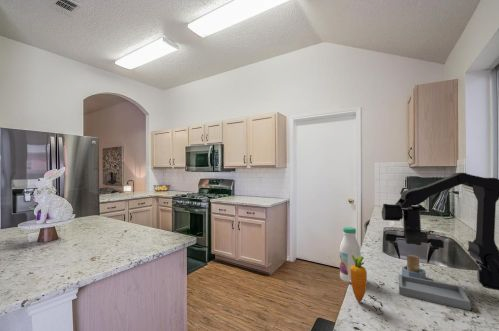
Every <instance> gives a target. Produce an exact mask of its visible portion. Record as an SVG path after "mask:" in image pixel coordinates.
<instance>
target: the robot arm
mask: <svg viewBox="0 0 499 331" xmlns="http://www.w3.org/2000/svg"><path fill="white" fill-rule="evenodd" d="M460 185H464V186H466V187H470V188H472V191H473V195H474V197H475V198H476V200H477V206H476V229H475V230H476V231H475V238H474V240H473V241H472V240H468V241H467V242H468V249H467V250H466V251H467V252H469V256H470V257H471V258H472V259H473V260H474V261H475V263H476V264H477V265H478V268H477V269H476V274H477V276H476V279H477V281H478V282H479V283H480V284H481V285H482V287H484V288H489V289H495V290H499V248H498V246H497V244H496V242H495V236H496V235H495V232H496V230H495V229H496V207H497V205H496V204H497V202H498V200H499V179H498V178H495V177H483V176H479V175H473V174H468V173H466V172H454V173H453V174H451V175H449V176H446V177H444V178H442V179H439V180H436V181H435V182H431V183H430V184H426V185H423V186H421V187H415V188H410V189H407V190H404V191H402V192H401V195H400V198H399V199H398V200H397V202H396V203H395V204H393V203H392V204H390V203H389V204H388V203H382V209H381V219H382V220H383V221H393V222H400V221H401V220H403V221H402V222H403V224H402V225H403V235H401V234H397V231H396V232H393V231H386V232H385V234H384V236H385V241H387V242H389V244H392V245H393V247H394V249H395V252H396V254H397V256H398V259H399V260H400V259H401V251H400V247H399V242H398V241H405V243H406V244H407V245H416V246H421V245H422V243H424V244H427V248H426V249H427V250H426V251H427V252H426V263H427V264H429V263H430V261H431V258H432V255H433V254H434V252H435V251H436V250H440V249H441V248H442V249H444V247H445V244H444V240H443V239H442V238H441V237H440V236H431V235H428V232H427V231H422V224H421V223H422V222H421V212H427V209H426V208H425V207H424V206H423V205H422V203H424V202H426V200H427V199H429V198H430V197H432V196H434V195H437V194H440V193H443V192H444V191H446V190H449V189H452V188H454V187H457V186H460Z"/></svg>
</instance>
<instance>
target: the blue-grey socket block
mask: <svg viewBox="0 0 499 331" xmlns="http://www.w3.org/2000/svg"><path fill="white" fill-rule="evenodd" d="M419 271H420V272H419V273H417V272H411V271H408V270H407V264H406V265H401V275H405V276H410V277H415V278H420V279H425V280H427V275H426V274H427V273H426V270H425V269H423V268H421V267H419Z"/></svg>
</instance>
